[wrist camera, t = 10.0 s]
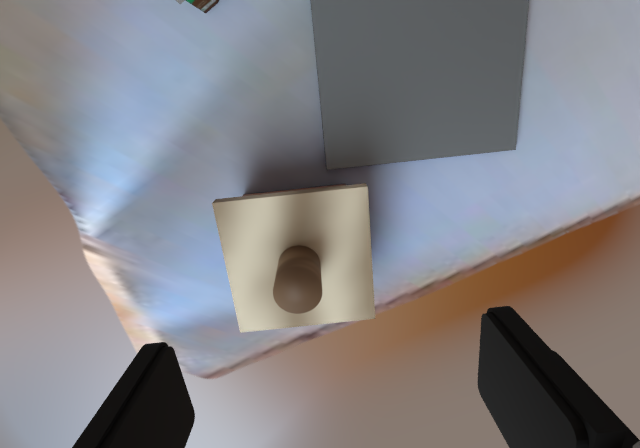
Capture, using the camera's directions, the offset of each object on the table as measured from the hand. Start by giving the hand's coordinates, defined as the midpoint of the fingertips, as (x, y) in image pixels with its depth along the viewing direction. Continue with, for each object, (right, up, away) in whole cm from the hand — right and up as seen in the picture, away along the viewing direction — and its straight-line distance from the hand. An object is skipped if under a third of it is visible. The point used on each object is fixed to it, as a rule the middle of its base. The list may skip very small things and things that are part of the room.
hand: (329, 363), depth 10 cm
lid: (-2, +2, +16) cm, 17 cm away
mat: (+7, +17, +16) cm, 25 cm away
